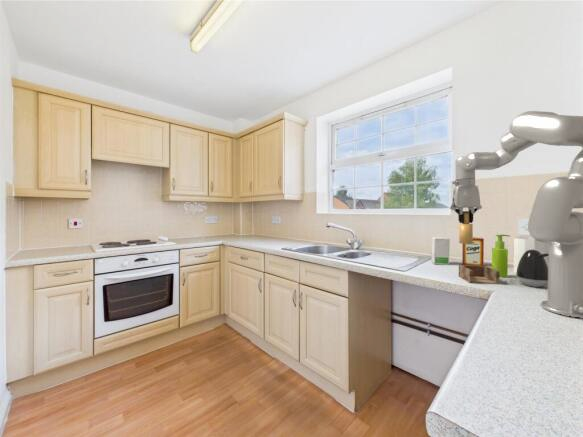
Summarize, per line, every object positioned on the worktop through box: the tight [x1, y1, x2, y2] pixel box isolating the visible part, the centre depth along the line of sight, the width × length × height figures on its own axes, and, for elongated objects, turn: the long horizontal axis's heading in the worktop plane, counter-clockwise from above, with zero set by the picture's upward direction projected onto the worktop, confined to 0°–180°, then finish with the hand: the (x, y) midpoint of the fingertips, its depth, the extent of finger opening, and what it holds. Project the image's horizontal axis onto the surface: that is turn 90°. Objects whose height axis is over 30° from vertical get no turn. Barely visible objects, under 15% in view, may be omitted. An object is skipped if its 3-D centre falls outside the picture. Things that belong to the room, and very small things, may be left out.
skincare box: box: [431, 236, 451, 266], centre depth 152 cm, size 8×7×16 cm
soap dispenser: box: [491, 233, 511, 278], centre depth 123 cm, size 6×7×20 cm
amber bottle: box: [458, 210, 474, 244], centre depth 120 cm, size 5×5×15 cm
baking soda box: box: [461, 236, 485, 266], centre depth 148 cm, size 10×6×16 cm
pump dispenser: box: [515, 250, 549, 288], centre depth 108 cm, size 10×10×15 cm
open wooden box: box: [458, 264, 500, 285], centre depth 117 cm, size 11×11×6 cm
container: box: [513, 236, 552, 274], centre depth 125 cm, size 14×14×18 cm
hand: (465, 222), depth 119 cm, fingers closed on amber bottle, 2 cm apart
